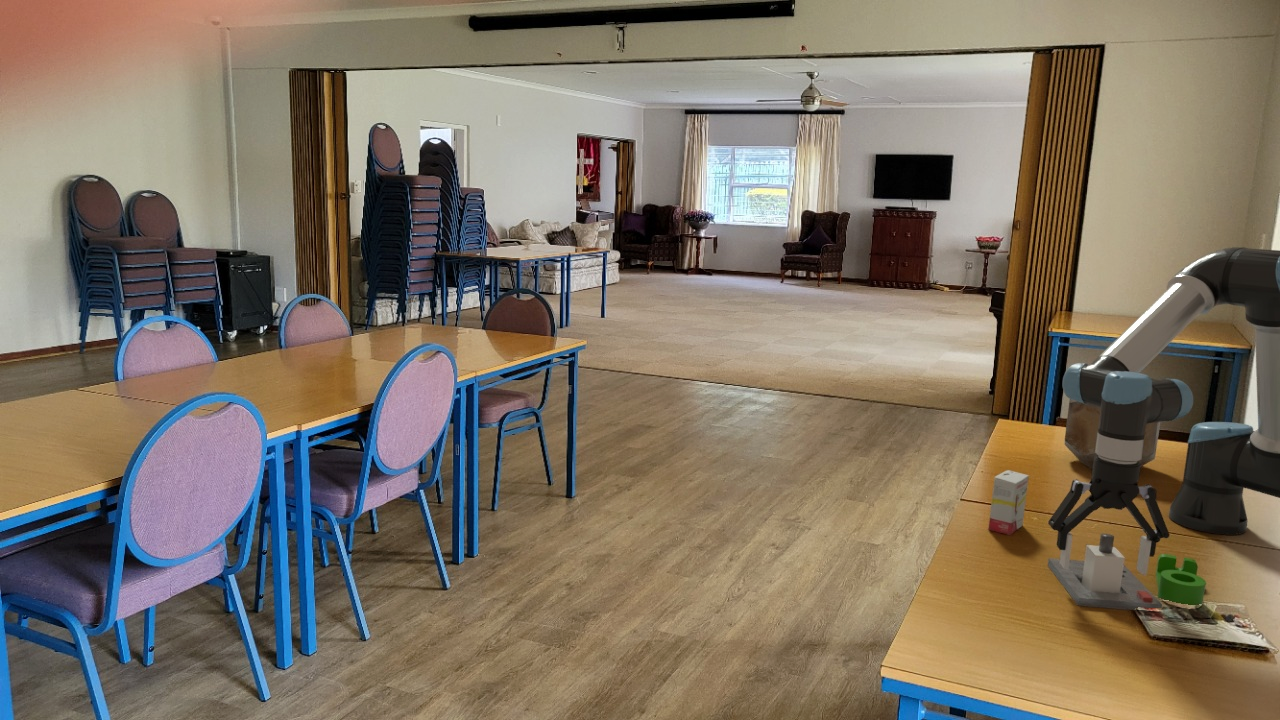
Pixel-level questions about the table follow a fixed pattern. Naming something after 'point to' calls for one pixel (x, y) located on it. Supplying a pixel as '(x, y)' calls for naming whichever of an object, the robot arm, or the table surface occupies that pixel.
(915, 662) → the table surface
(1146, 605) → the socket plate
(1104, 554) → the plug
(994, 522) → the ink box
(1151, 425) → the planter
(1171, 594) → the green ring bracket
